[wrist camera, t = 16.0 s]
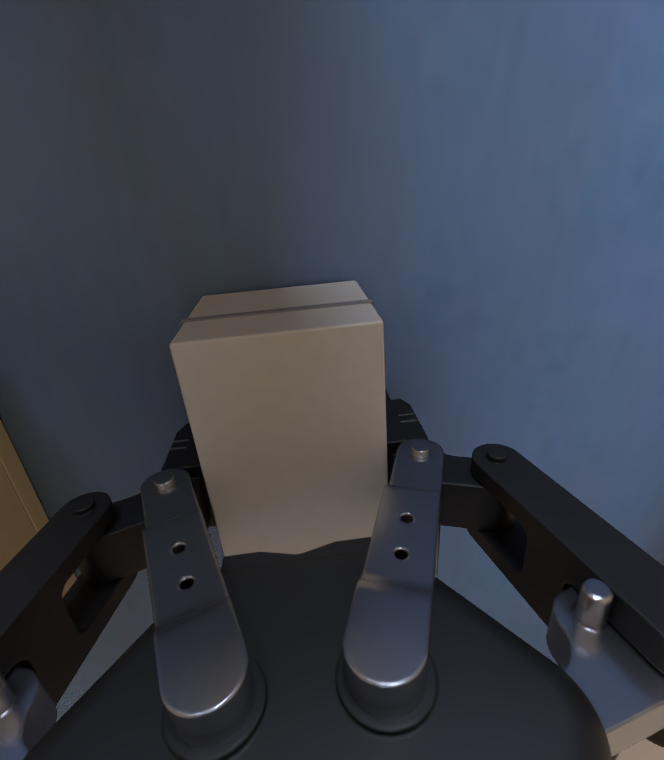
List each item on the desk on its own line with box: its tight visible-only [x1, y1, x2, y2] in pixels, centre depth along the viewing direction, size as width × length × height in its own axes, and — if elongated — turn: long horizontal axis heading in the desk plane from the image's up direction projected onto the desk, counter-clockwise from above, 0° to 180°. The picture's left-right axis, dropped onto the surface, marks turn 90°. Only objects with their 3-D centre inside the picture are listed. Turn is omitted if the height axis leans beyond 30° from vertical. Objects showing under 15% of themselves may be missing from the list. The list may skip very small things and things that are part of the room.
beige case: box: [170, 280, 388, 556], centre depth 14 cm, size 10×5×4 cm, turn 4°
